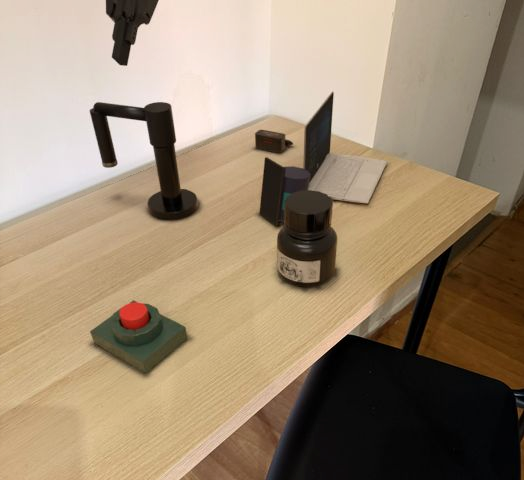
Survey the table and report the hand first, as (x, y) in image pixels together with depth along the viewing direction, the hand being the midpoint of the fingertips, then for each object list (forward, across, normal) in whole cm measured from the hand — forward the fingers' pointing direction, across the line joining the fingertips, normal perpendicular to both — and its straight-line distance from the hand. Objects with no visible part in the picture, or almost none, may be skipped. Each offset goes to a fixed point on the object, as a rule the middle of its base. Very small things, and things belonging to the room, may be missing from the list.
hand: (119, 61), depth 93 cm
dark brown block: (+2, -21, -30) cm, 36 cm away
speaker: (+20, -32, -10) cm, 40 cm away
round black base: (+22, -12, -8) cm, 26 cm away
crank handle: (+17, -6, -3) cm, 19 cm away
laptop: (+9, -39, -23) cm, 46 cm away
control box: (+45, -24, +17) cm, 54 cm away
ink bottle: (+31, -41, 0) cm, 51 cm away
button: (+43, -24, +19) cm, 53 cm away
